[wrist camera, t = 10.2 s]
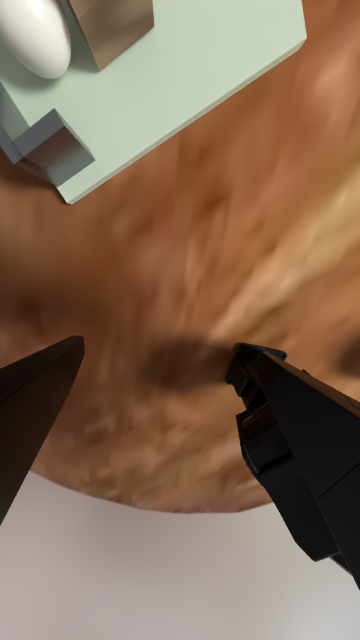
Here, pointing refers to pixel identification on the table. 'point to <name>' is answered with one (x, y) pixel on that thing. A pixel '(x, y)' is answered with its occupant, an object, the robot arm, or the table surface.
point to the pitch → (156, 78)
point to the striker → (111, 25)
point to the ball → (37, 35)
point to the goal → (41, 143)
